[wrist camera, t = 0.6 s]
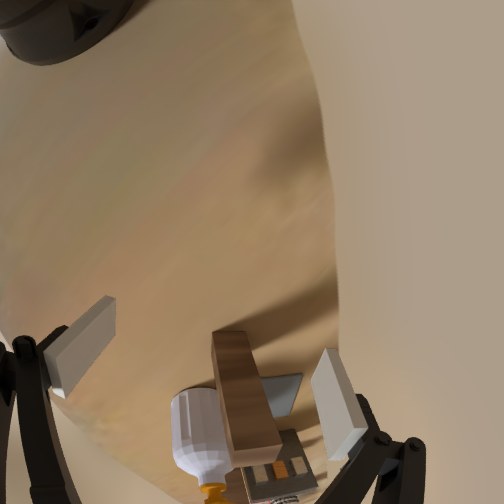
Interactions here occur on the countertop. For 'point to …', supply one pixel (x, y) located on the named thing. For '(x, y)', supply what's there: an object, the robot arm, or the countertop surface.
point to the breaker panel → (281, 473)
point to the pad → (281, 392)
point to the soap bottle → (201, 440)
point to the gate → (242, 411)
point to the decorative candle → (286, 500)
